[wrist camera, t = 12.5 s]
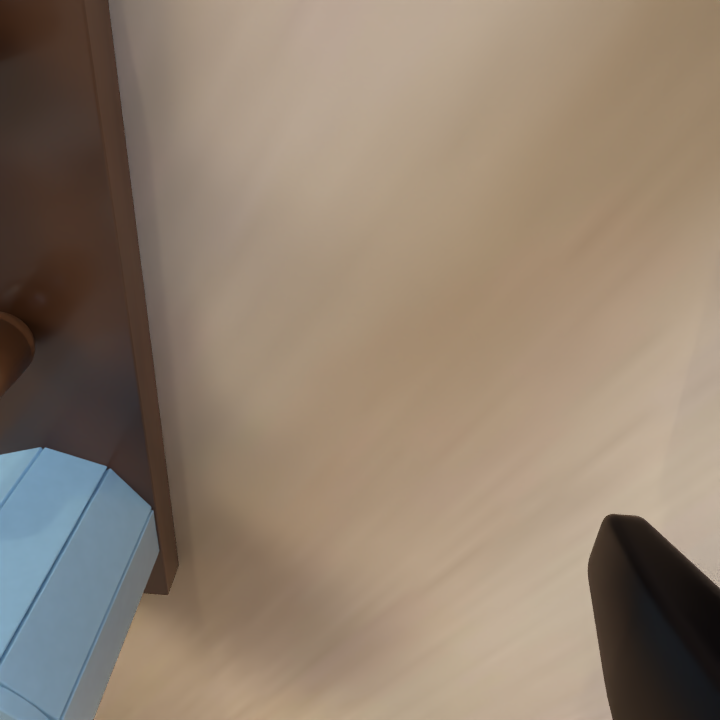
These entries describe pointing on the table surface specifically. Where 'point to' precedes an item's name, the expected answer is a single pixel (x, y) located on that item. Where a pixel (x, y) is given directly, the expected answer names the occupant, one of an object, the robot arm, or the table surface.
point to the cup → (66, 581)
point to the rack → (74, 259)
